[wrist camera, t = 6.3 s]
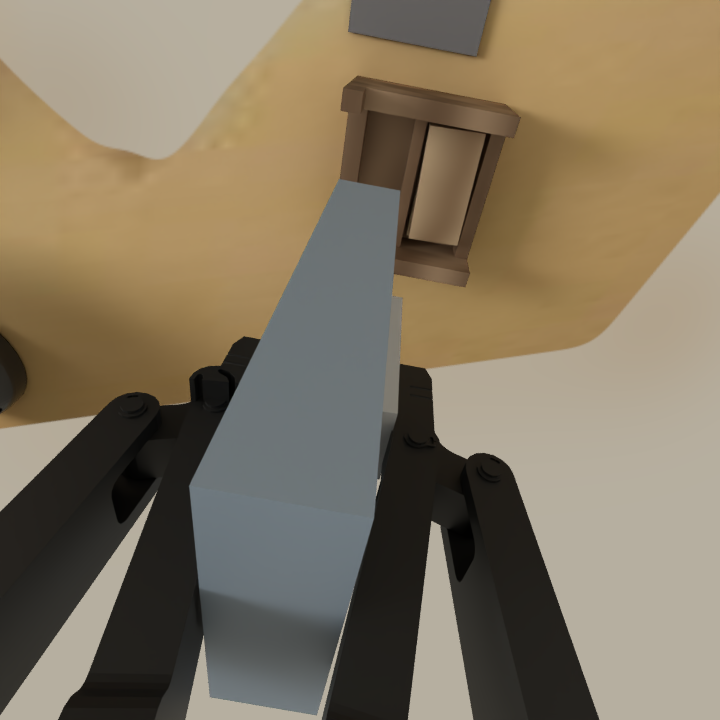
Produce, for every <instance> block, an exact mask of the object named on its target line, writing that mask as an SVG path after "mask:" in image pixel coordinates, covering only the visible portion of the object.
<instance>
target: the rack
mask: <svg viewBox="0 0 720 720" xmlns="http://www.w3.org/2000/svg"><path fill="white" fill-rule="evenodd" d="M341 111H345V112H348V119H347V127H346V135H345V143H344V151H343V158H342V166H341V174H340V179H341V180H347V181H352V182H357V183H363V184H368V185H373V186H378V187H384V188H389V189H394V190H400V200H399V213H398V225H397V238H396V250H395V263H394V274H397V275H402V276H408V277H413V278H418V279H424V280H429V281H434V282H440V283H445V284H450V285H456V286H461V287H466V284H467V281H468V277H469V274H470V272H469V267H468V263H467V257H468V254H469V251H470V248H471V245H472V242H473V238H474V235H475V232H476V229H477V226H478V223H479V219H480V216H481V213H482V210H483V207H484V204H485V200H486V197H487V194H488V191H489V188H490V185H491V181H492V178H493V175H494V172H495V169H496V166H497V162H498V159H499V156H500V153H501V150H502V146H503V143H504V140H505V137H511V138H514V136H515V133H516V130H517V127H518V124H519V121H520V118H521V117H519V116H518V115H517V114H516V113H515V112H514V111H513V110H511V109H510V108H509V107H508V106H507V105H506V104H501V103H496V102H490V101H485V100H480V99H475V98H470V97H464V96H459V95H454V94H449V93H444V92H439V91H433V90H428V89H423V88H418V87H413V86H408V85H402V84H397V83H392V82H387V81H382V80H377V79H371V78H366V77H361V76H357V77H356V78H354V79H353V80H352V81H351V82H350V83H348V84H347V85H346V86H345V87H344V88H343V94H342V102H341ZM430 122H433V123H438V124H443V125H448V126H454V127H459V128H464V129H469V130H474V131H480V132H485V133H486V136H485V140H484V144H483V148H482V152H481V156H480V159H479V163H478V167H477V171H476V175H475V179H474V183H473V187H472V190H471V194H470V198H469V202H468V206H467V210H466V214H465V218H464V221H463V225H462V229H461V233H460V237H459V241H458V245H457V246H455V245H449V244H442V243H436V242H429V241H423V240H416V239H410V238H409V236H408V235H407V226H408V221H409V217H410V212H411V208H412V203H413V199H414V194H415V190H416V185H417V181H418V176H419V172H420V167H421V163H422V158H423V154H424V149H425V145H426V140H427V135H428V130H429V124H430Z"/></svg>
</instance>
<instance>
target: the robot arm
mask: <svg viewBox="0 0 720 720" xmlns="http://www.w3.org/2000/svg"><path fill="white" fill-rule="evenodd" d="M401 321H402V298H401V297H396V296H392V300H391V313H390V325H389V337H388V350H387V362H386V375H385V387H384V400H383V412H382V425H381V437H380V450H379V462H378V475H377V479H380V475H381V482H380V485H379V489H378V492H377V496H376V499H375V512H374V520H373V524H372V527H371V530H370V534H369V537H368V541H367V544H366V548H365V551H364V554H363V558H362V561H361V565H360V568H359V572H358V575H357V578H356V582H355V586H354V590H353V594H352V598H351V602H350V607H349V611H348V615H347V619H346V623H345V627H344V631H343V635H342V639H341V643H340V647H339V651H338V656H337V660H336V664H335V668H334V672H333V676H332V680H331V684H330V689H329V692H328V696H327V700H326V704H325V708H324V712H323V717H322V720H408V713H409V704H410V696H411V688H412V679H413V671H414V662H415V654H416V645H417V636H418V628H419V619H420V611H421V603H422V594H423V586H424V578H425V569H426V561H427V553H428V544H429V535H430V527H431V521H433V522H435V523H437V524H439V525H441V533H442V538H443V544H444V550H445V556H446V561H447V568H448V573H449V579H450V585H451V591H452V597H453V603H454V608H455V615H456V620H457V625H458V632H459V637H460V644H461V649H462V655H463V661H464V667H465V672H466V679H467V684H468V690H469V696H470V701H471V708H472V714H473V719H474V720H599V717H598V715H597V712H596V709H595V706H594V703H593V700H592V698H591V695H590V692H589V689H588V686H587V683H586V680H585V678H584V675H583V672H582V669H581V666H580V663H579V660H578V657H577V655H576V652H575V649H574V646H573V643H572V640H571V637H570V635H569V632H568V629H567V626H566V623H565V620H564V617H563V615H562V612H561V609H560V606H559V603H558V600H557V597H556V595H555V592H554V589H553V586H552V583H551V580H550V577H549V575H548V572H547V569H546V566H545V563H544V560H543V558H542V555H541V552H540V549H539V546H538V543H537V540H536V537H535V535H534V532H533V529H532V526H531V523H530V520H529V518H528V515H527V512H526V509H525V506H524V503H523V500H522V497H521V495H520V492H519V489H518V486H517V483H516V481H515V478H514V475H513V473H512V471H511V469H510V467H509V466H508V465H507V464H506V463H505V462H503V461H502V460H501V459H499V458H497V457H496V456H494V455H490V454H486V453H476V454H474V455H472V456H470V457H469V458H468V459H465V458H463V457H461V456H459V455H456V454H454V453H452V452H451V451H449V450H447V449H446V448H445V447H443V446H442V445H441V443H440V442H439V439H438V437H437V435H436V434H435V431H434V416H433V400H432V399H433V396H432V379H431V377H430V376H429V374H428V372H427V371H426V369H425V368H420V367H414V366H409V365H403V364H400V345H401ZM260 340H261V339H255V338H250V337H245V336H244V337H243V338H241V339H240V340H238V341H237V342H235V343H234V344H233V345H232V347H231V349H230V351H229V352H228V355H227V356H226V358H225V359H224V361H223V363H222V365H221V366H209V367H205V368H201V369H199V370H198V371H196V372H194V373H193V374H192V376H191V377H190V378H189V381H190V393H191V402H189V403H186V404H179V405H164V406H160V405H159V401H158V400H157V399H156V398H155V397H154V396H152V395H150V394H147V393H140V392H135V393H127V394H124V395H122V396H119V397H117V398H115V399H114V400H113V401H111V402H110V403H109V404H108V405H107V406H106V407H105V408H104V409H103V410H102V411H101V412H100V413H99V414H98V415H97V416H96V417H95V418H94V419H93V420H92V421H91V422H90V423H89V424H88V425H87V426H86V427H85V428H84V429H83V430H82V431H81V432H80V433H79V434H78V435H77V436H76V437H75V438H74V439H73V440H72V441H71V442H70V443H69V444H68V445H67V446H66V447H65V448H64V449H63V450H62V451H61V452H60V453H59V454H58V455H57V456H56V457H55V458H54V459H53V460H52V461H51V462H50V463H49V464H48V465H47V466H46V467H45V468H44V469H43V470H42V471H41V472H40V473H39V474H38V475H37V476H36V477H35V478H34V479H33V480H32V481H31V482H30V483H29V484H28V485H27V486H26V487H25V488H24V489H23V490H22V491H21V492H20V493H19V494H18V495H17V496H16V497H15V498H14V499H13V500H12V501H11V502H10V503H9V504H8V505H7V506H6V507H5V508H4V509H3V510H2V511H1V512H0V715H1V713H2V712H3V710H4V709H5V707H6V706H7V705H8V703H9V702H10V700H11V698H12V697H13V696H14V695H15V693H16V692H17V690H18V689H19V687H20V686H21V685H22V683H23V682H24V680H25V679H26V677H27V676H28V675H29V673H30V672H31V670H32V669H33V668H34V666H35V665H36V663H37V662H38V660H39V659H40V658H41V656H42V655H43V653H44V652H45V650H46V649H47V648H48V646H49V645H50V643H51V642H52V640H53V639H54V637H55V636H56V635H57V633H58V632H59V630H60V629H61V628H62V626H63V625H64V623H65V622H66V620H67V619H68V617H69V616H70V615H71V613H72V612H73V610H74V609H75V608H76V606H77V605H78V603H79V602H80V600H81V599H82V598H83V596H84V595H85V593H86V592H87V590H88V589H89V588H90V586H91V585H92V583H93V582H94V580H95V579H96V578H97V576H98V574H99V573H100V572H101V570H102V569H103V568H104V566H105V565H106V563H107V562H108V560H109V559H110V558H111V556H112V555H113V553H114V552H115V550H116V549H117V548H118V546H119V545H120V543H121V542H122V540H123V539H124V538H125V536H126V535H127V533H128V532H129V530H130V529H131V528H132V526H133V525H134V523H135V522H136V520H137V519H138V517H139V516H140V515H141V513H142V512H143V511H144V509H145V508H146V506H147V505H148V503H149V502H150V501H151V499H152V497H153V496H154V495H155V493H156V492H157V494H156V496H155V499H154V501H153V504H152V507H151V509H150V512H149V514H148V518H147V520H146V522H145V525H144V528H143V530H142V533H141V536H140V538H139V541H138V544H137V546H136V549H135V552H134V554H133V557H132V560H131V562H130V565H129V567H128V570H127V573H126V575H125V578H124V581H123V583H122V586H121V589H120V591H119V594H118V597H117V599H116V602H115V605H114V607H113V610H112V612H111V615H110V618H109V620H108V623H107V626H106V628H105V631H104V634H103V636H102V639H101V642H100V644H99V647H98V650H97V652H96V655H95V657H94V660H93V663H92V665H91V668H90V671H89V673H88V675H87V678H86V680H85V682H84V684H83V686H82V687H81V688H80V689H79V690H78V691H77V692H76V693H74V694H73V695H72V696H71V697H70V699H69V700H68V702H67V703H66V705H65V706H64V708H63V710H62V712H61V715H60V717H59V719H58V720H185V718H186V713H187V709H188V704H189V700H190V695H191V690H192V686H193V681H194V676H195V672H196V667H197V663H198V658H199V653H200V649H201V644H202V640H203V635H204V632H203V621H202V611H201V601H200V591H199V580H198V570H197V560H196V550H195V540H194V529H193V519H192V509H191V499H190V489H189V485H190V483H191V481H192V479H193V477H194V475H195V473H196V471H197V469H198V467H199V465H200V463H201V461H202V458H203V456H204V454H205V452H206V450H207V448H208V446H209V444H210V442H211V440H212V438H213V436H214V434H215V432H216V430H217V428H218V426H219V424H220V422H221V420H222V418H223V416H224V413H225V411H226V409H227V407H228V405H229V403H230V401H231V399H232V397H233V395H234V393H235V391H236V389H237V387H238V385H239V383H240V381H241V379H242V377H243V375H244V373H245V371H246V369H247V366H248V364H249V362H250V360H251V358H252V356H253V354H254V352H255V350H256V348H257V346H258V344H259V342H260ZM25 388H26V373H25V370H24V367H23V364H22V362H21V360H20V358H19V357H18V355H17V354H16V352H15V351H14V349H13V348H12V347H11V346H10V344H9V343H8V342H7V341H6V340H5V339H4V338H3V337H2V336H1V335H0V413H2V412H4V411H5V410H7V409H8V408H9V407H10V406H12V405H13V404H14V403H15V402H16V401H17V400H18V399H19V398H20V397H21V396H22V395H23V393H24V391H25Z"/></svg>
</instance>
